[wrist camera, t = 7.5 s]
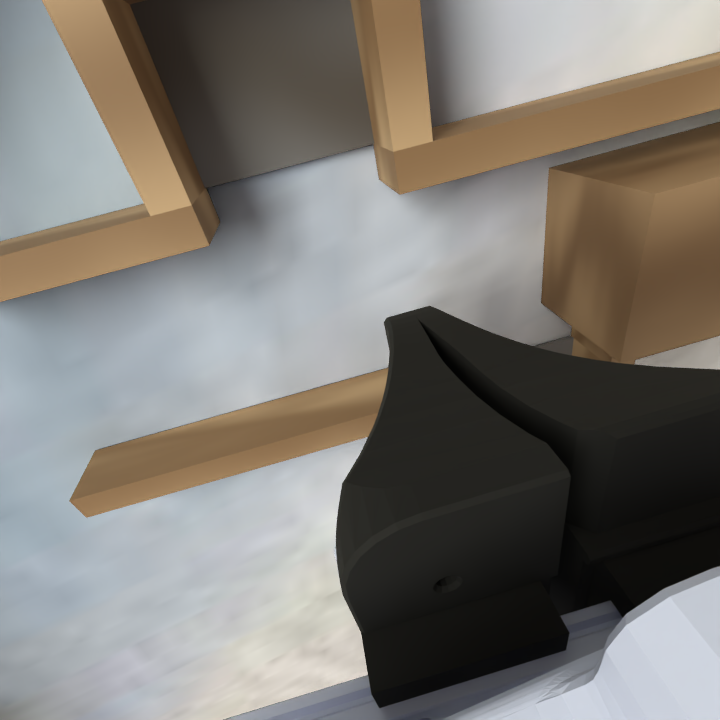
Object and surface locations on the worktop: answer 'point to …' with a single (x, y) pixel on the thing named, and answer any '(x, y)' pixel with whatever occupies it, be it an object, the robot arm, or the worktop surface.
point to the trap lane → (279, 150)
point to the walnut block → (637, 244)
